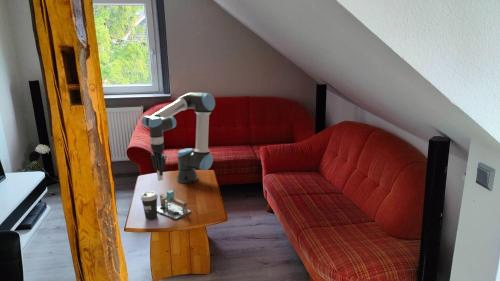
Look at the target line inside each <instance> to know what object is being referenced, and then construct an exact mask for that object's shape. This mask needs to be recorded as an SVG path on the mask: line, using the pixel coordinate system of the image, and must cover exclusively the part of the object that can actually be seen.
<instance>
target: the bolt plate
mask: <svg viewBox="0 0 500 281" xmlns="http://www.w3.org/2000/svg"><path fill="white" fill-rule="evenodd" d="M187 210H188V213H186V214H183V209H182V206H181V205H178V204H176V203H173V202H171V203H168V210H166V203H165V204H164V208H162V205H161V204H159V205H157V214H160V215H162V216H165V217H168V218H170V219H172V220H175V221H177V220H180V219H181V218H183V217H185V216H187V215H190V214H191V213H192V210H190V209H188V208H187Z"/></svg>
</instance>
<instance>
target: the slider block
mask: <svg viewBox="0 0 500 281" xmlns="http://www.w3.org/2000/svg"><path fill="white" fill-rule="evenodd" d="M166 195H167V196H166V197H167V200H165V203H166V210H168V203H172V202H171V199H172V198H175V191H173V190H171V189H170V190H167V191H166Z"/></svg>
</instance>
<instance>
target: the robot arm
mask: <svg viewBox="0 0 500 281" xmlns="http://www.w3.org/2000/svg"><path fill="white" fill-rule="evenodd" d="M215 107H216V100H215V98H214V95H213V94H211V93H207V92H196V91H195V92H194V91H193V92H192V91H191V92H187V93H184V94H183V95H181V96H179V97H177V98H176V100H175V101H173V102H172V103H170V104H168V105H166V106H164V107H162V108H161V109H160V110H158V111H156V112H155V113H152V114H151V115H144V116H143V117H142V118H141V125H142V126H143V127H144V128H148V131H149V138H150V151H152V152H150V153H149V154H150V157H151V160H152V164H153V169H155V171H156V174H157V181H159V182H160V181H163V180H164V170H166V161H167V160H166V159H167V157H168V156H167V155H166V154H165V153H164V149H165V144H164V132H166V131H169V130H172V129H174V128H176V126H177V120H176V118H175V117H174V116H175V115H176V114H178V113H180V112H181V111H186V110H188V109H189V110H190V109H192V110H194V113H195V114H196V124H195V126H196V129H195V148H191V147H190V148H189V147H188V148H184V149H180V150H178V151H177V156H176V157H177V164H178V165H177V166H178V171H177V172H178V173H177V176H176V181H177V183H180V184H191V183H194V182H196V181H198V179H199V176H198V174H197V171H196V170H197V169H198V170H200V171H202V170H203V171H206V170H209V169H210V168H211V166H212V164H213V163H214V157H213V155H212V154H211V152H210V149H209V130H210V129H209V127H210V125H209V124H210V121H209V120H210V115H211V113H212V111H213V110H214V109H215Z"/></svg>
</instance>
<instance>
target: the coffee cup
mask: <svg viewBox="0 0 500 281" xmlns="http://www.w3.org/2000/svg"><path fill="white" fill-rule="evenodd" d="M140 200H141V202H142V205H143V206H142V207H143V211H144V216H145V219H146V220H147V221H154V220H156V219H157V218H158V212H157V206H158V194H157V192H155V191H153V190H152V191H151V190H150V191H145V192H143V193H142V194H141V196H140Z"/></svg>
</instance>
